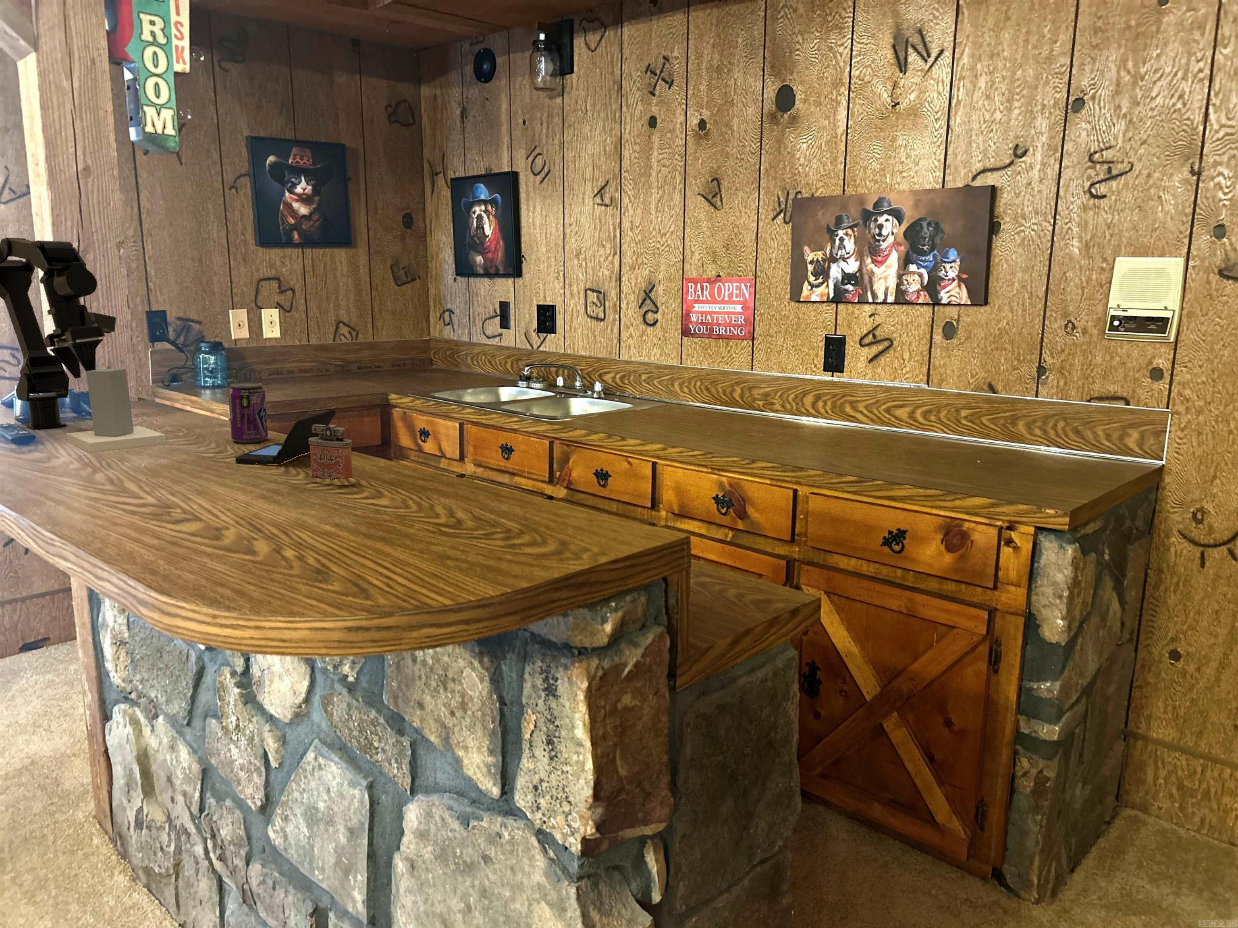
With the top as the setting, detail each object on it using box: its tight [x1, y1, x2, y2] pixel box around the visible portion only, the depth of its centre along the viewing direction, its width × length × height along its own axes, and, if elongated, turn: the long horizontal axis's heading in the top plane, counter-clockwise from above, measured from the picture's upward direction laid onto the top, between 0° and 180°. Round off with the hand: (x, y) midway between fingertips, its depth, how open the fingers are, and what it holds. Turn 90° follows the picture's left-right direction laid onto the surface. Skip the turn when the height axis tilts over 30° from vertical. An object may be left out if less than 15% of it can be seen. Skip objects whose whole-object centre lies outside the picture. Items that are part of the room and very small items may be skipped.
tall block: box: [85, 368, 134, 436], centre depth 180 cm, size 5×5×13 cm
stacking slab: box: [66, 425, 167, 454], centre depth 182 cm, size 14×14×2 cm
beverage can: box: [228, 382, 269, 444], centre depth 186 cm, size 7×7×12 cm
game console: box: [234, 408, 336, 465], centre depth 171 cm, size 16×14×9 cm
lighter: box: [309, 424, 353, 480], centre depth 152 cm, size 8×3×10 cm, turn 71°
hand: (84, 376), depth 187 cm, fingers open, 9 cm apart
